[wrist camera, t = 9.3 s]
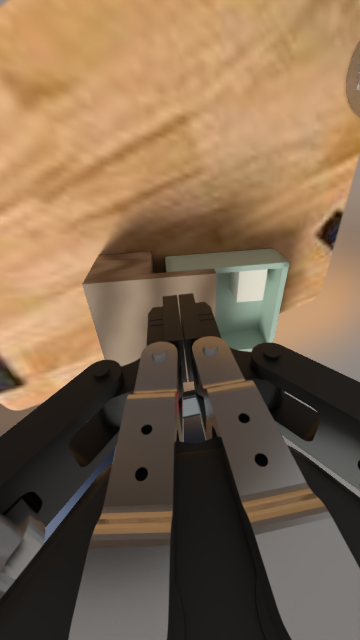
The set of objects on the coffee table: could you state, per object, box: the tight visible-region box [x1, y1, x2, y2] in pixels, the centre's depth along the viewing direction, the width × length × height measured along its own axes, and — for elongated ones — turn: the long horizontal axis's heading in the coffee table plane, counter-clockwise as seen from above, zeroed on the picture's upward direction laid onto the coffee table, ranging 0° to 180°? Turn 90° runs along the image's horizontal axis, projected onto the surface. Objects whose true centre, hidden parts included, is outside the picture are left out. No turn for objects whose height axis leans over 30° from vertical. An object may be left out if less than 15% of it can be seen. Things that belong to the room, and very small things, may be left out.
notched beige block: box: [82, 251, 216, 380], centre depth 39 cm, size 16×18×10 cm
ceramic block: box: [229, 269, 268, 302], centre depth 38 cm, size 5×5×4 cm
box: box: [165, 248, 290, 352], centre depth 41 cm, size 17×16×6 cm
